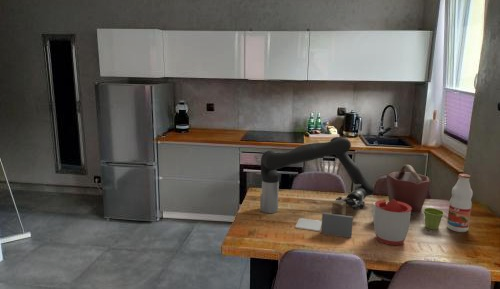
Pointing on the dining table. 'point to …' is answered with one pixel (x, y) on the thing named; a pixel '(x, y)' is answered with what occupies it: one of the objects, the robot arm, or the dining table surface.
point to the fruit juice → (460, 205)
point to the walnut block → (339, 207)
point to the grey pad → (309, 224)
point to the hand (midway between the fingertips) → (345, 206)
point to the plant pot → (433, 218)
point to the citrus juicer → (391, 221)
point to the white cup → (374, 210)
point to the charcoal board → (337, 225)
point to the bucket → (408, 187)
